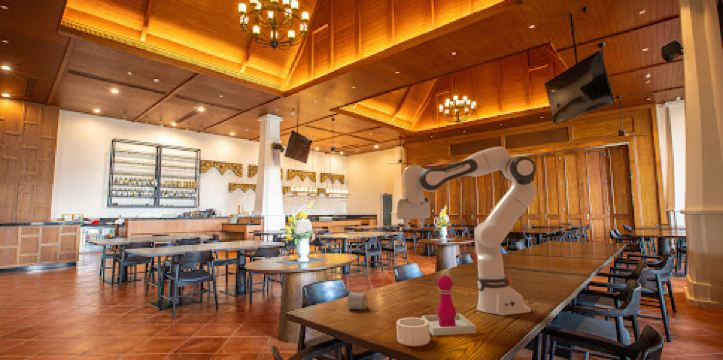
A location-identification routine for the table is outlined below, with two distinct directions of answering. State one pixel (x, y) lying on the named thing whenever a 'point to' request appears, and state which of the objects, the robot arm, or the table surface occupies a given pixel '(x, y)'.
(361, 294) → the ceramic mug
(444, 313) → the pepper mill
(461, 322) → the sage tray
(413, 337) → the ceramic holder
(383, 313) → the table surface
